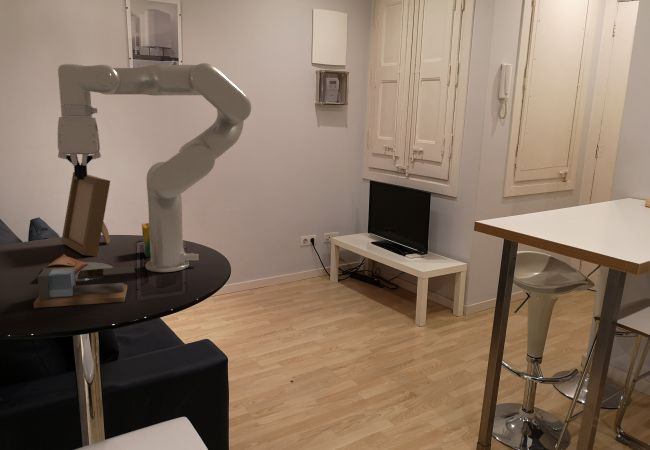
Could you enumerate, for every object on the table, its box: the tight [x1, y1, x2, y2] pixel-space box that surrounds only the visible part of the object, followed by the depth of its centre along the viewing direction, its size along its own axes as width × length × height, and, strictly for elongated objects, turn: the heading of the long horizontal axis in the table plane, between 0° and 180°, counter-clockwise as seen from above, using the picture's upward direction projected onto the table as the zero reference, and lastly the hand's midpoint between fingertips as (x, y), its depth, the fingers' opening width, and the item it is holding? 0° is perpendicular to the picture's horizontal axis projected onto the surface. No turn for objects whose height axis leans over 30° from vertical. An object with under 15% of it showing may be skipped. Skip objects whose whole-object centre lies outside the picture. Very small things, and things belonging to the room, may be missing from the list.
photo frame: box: [60, 171, 111, 257], centre depth 177 cm, size 15×22×25 cm
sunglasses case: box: [37, 253, 89, 276], centre depth 152 cm, size 18×7×7 cm
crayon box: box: [141, 222, 151, 258], centre depth 172 cm, size 7×3×12 cm, turn 24°
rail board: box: [33, 282, 128, 309], centre depth 132 cm, size 20×10×3 cm, turn 106°
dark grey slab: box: [37, 267, 53, 301], centre depth 129 cm, size 2×7×6 cm, turn 16°
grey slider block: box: [48, 269, 77, 297], centre depth 130 cm, size 5×5×6 cm
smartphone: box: [78, 265, 136, 280], centre depth 153 cm, size 7×1×15 cm
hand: (81, 179), depth 147 cm, fingers closed
